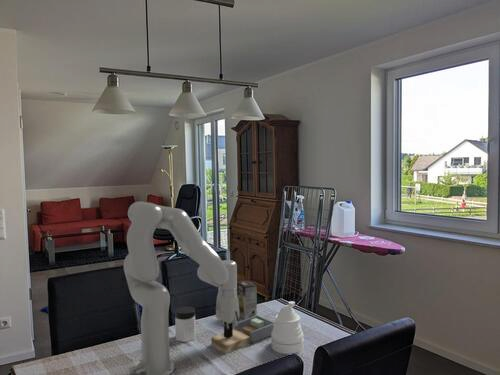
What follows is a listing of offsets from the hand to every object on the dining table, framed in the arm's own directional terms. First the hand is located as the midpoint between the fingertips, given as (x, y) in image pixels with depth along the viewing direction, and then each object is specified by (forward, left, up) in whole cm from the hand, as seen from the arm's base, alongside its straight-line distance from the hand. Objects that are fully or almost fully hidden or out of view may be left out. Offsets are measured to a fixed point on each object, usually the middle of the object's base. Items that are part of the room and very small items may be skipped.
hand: (228, 336), depth 159 cm
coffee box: (+25, +18, -4) cm, 31 cm away
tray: (+14, 0, -4) cm, 15 cm away
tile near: (+12, 0, -3) cm, 12 cm away
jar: (-9, +18, -4) cm, 20 cm away
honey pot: (+17, -17, -4) cm, 24 cm away
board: (+1, 0, -4) cm, 4 cm away
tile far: (+14, 0, 0) cm, 14 cm away
